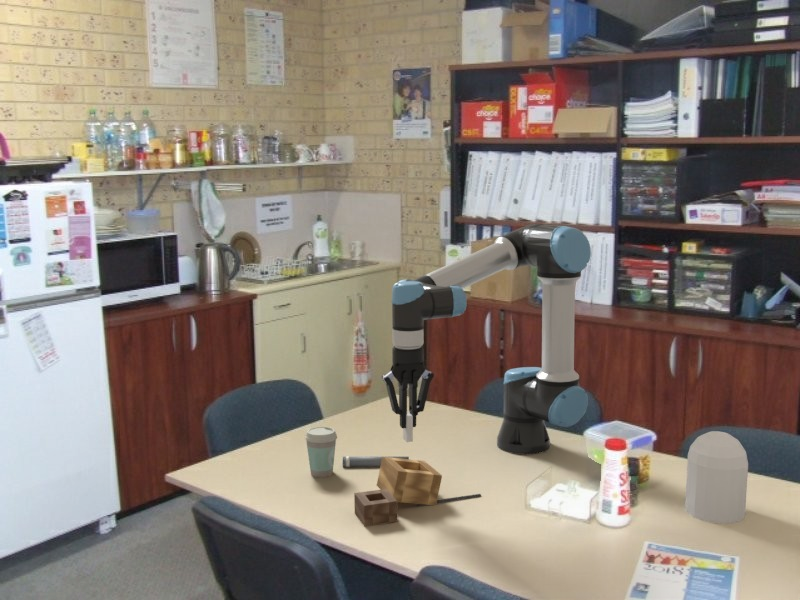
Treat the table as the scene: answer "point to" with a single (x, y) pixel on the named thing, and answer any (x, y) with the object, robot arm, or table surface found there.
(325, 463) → the coffee cup
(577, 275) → the robot arm
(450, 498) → the grey long thin rod
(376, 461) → the gray tube
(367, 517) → the bead dark
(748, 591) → the table surface
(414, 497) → the light wooden square box
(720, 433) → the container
